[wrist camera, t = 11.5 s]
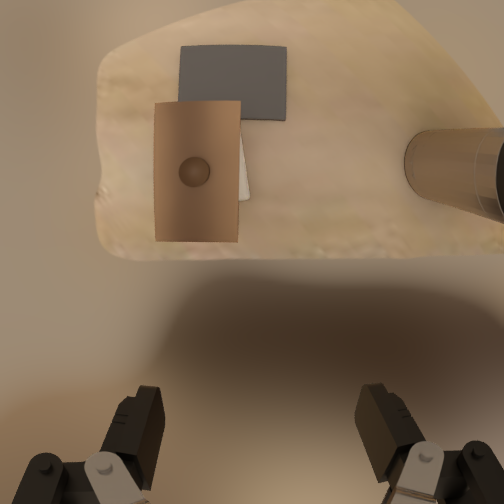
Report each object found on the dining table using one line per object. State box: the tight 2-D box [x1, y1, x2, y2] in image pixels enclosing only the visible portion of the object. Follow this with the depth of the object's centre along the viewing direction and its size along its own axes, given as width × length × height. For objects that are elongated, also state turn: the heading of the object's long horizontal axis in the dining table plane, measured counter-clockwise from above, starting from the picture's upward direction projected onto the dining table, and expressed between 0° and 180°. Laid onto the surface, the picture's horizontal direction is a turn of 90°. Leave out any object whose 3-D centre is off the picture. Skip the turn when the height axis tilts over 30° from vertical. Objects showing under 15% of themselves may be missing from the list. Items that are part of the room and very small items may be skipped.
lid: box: [154, 101, 241, 242], centre depth 23 cm, size 6×10×4 cm, turn 179°
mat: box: [178, 45, 287, 121], centre depth 33 cm, size 12×9×1 cm
